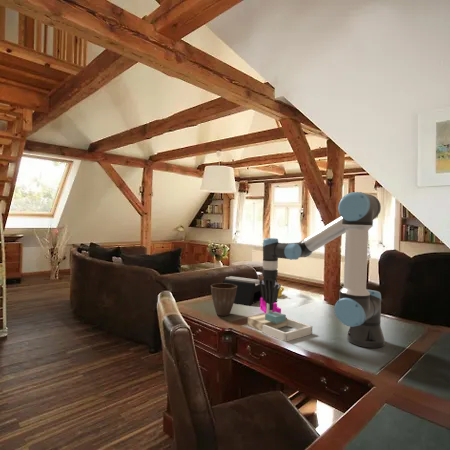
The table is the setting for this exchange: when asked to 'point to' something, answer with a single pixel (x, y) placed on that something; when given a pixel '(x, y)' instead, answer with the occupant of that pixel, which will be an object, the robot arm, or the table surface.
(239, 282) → the device stand
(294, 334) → the box
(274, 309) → the magenta notched bracket
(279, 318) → the teal rectangular block
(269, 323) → the plate
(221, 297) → the plant pot
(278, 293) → the teapot
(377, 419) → the table surface
